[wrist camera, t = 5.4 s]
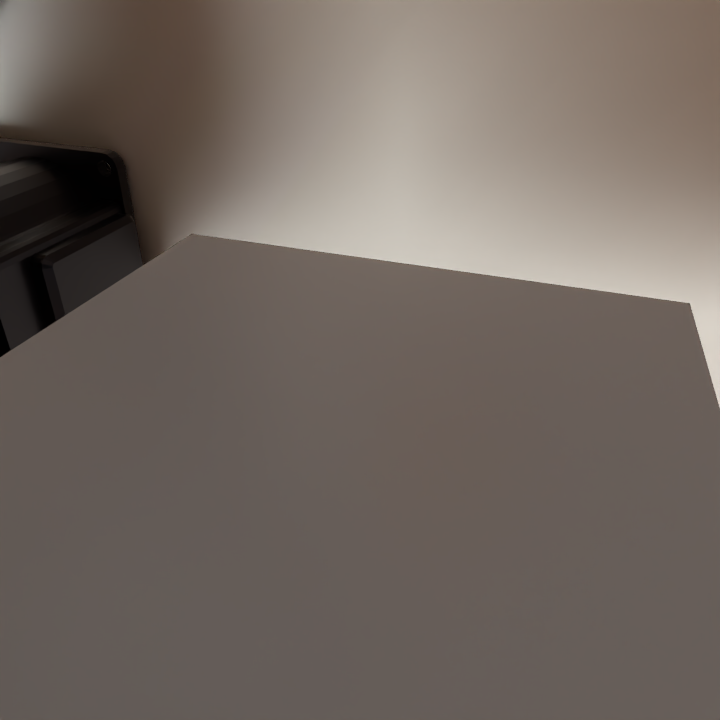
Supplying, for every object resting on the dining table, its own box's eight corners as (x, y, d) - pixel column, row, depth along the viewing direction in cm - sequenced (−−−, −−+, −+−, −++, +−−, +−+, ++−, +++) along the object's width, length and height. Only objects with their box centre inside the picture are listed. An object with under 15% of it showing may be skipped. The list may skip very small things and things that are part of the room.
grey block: (233, 549, 15) (-113, 1101, 7) (191, 233, 10) (-664, 783, 3) (577, 645, 13) (553, 1513, 6) (689, 303, 9) (1161, 1949, 1)
